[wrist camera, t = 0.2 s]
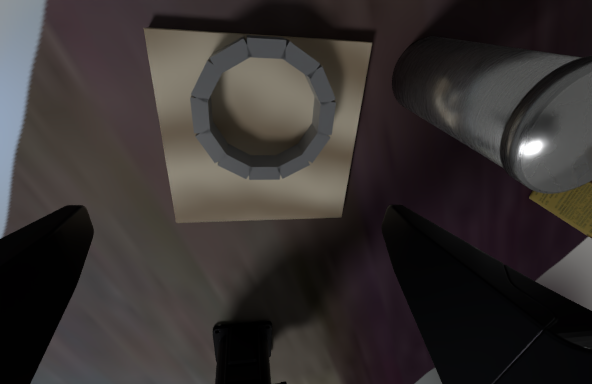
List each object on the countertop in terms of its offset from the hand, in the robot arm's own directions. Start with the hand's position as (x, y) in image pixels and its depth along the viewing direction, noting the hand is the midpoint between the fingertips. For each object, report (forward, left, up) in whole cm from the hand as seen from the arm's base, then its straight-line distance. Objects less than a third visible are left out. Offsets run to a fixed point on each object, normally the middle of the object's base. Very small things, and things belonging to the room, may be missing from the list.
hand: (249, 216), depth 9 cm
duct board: (-3, -1, -14) cm, 15 cm away
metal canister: (+2, -13, -14) cm, 20 cm away
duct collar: (0, -1, -14) cm, 14 cm away
